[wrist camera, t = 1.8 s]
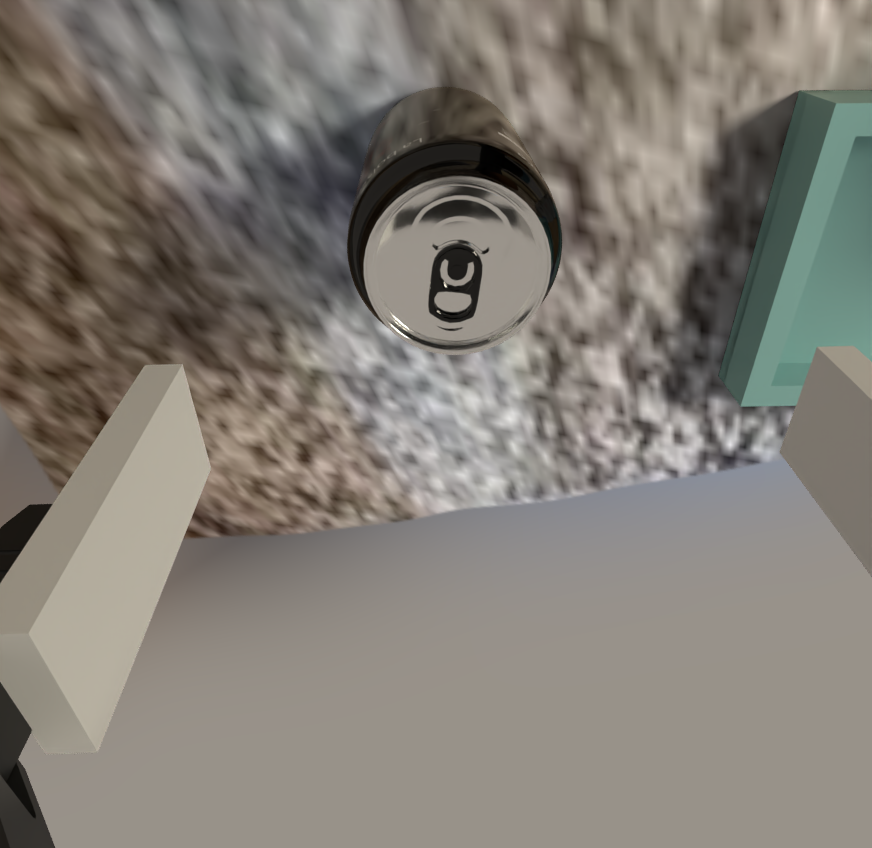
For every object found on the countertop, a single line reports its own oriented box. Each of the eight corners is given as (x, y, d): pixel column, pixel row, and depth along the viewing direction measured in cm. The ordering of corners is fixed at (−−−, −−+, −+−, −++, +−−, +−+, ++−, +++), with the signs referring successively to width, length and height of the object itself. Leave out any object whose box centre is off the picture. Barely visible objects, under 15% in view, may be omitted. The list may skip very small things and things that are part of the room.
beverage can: (362, 234, 31) (337, 362, 21) (370, 72, 27) (345, 136, 17) (505, 249, 32) (546, 380, 22) (534, 92, 28) (598, 166, 18)
